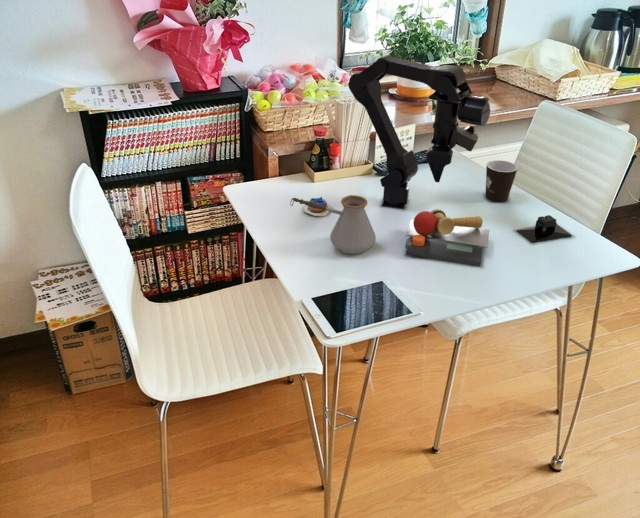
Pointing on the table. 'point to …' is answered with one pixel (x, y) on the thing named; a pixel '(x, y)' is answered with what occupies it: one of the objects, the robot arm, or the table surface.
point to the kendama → (442, 222)
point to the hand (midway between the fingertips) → (439, 175)
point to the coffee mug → (499, 180)
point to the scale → (444, 252)
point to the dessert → (314, 210)
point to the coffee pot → (349, 225)
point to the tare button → (418, 240)
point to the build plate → (544, 230)
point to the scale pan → (457, 235)
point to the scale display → (459, 248)
